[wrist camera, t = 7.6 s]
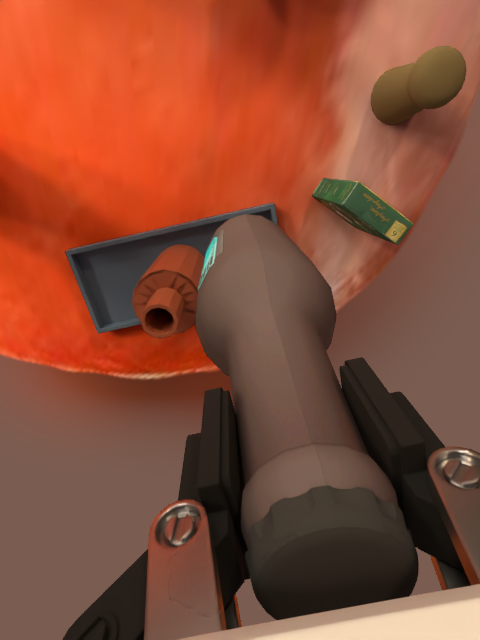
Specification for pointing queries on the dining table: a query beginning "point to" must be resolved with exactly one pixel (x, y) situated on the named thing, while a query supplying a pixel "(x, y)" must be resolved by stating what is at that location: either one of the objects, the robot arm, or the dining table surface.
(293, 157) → the dining table surface
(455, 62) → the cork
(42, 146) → the dining table surface
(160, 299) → the terracotta bottle
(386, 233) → the coffee box
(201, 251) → the tray
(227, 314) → the beer bottle
